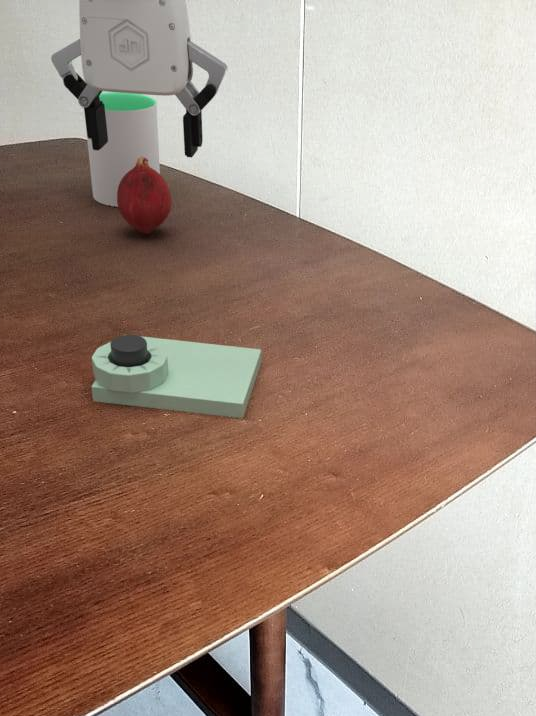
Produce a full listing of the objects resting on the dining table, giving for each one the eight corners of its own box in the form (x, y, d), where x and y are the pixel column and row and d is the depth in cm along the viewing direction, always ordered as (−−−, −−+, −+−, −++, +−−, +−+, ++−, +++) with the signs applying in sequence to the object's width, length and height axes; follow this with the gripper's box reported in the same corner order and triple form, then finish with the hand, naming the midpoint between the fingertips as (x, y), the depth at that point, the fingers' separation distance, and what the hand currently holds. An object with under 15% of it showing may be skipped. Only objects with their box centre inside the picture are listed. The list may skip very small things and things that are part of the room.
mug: (90, 174, 109) (81, 83, 102) (154, 173, 111) (149, 83, 104) (94, 208, 100) (84, 110, 93) (164, 206, 102) (159, 110, 95)
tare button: (107, 367, 67) (105, 349, 66) (117, 350, 69) (116, 332, 68) (142, 371, 67) (141, 353, 66) (151, 354, 69) (150, 336, 68)
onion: (174, 243, 93) (171, 167, 88) (119, 244, 93) (113, 166, 87) (171, 224, 98) (168, 149, 93) (119, 224, 97) (113, 149, 92)
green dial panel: (87, 403, 68) (82, 369, 66) (120, 348, 75) (117, 316, 73) (242, 421, 67) (242, 387, 65) (261, 363, 74) (262, 331, 72)
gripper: (22, -49, 76) (52, 154, 87) (215, -37, 75) (221, 167, 86) (52, -59, 82) (76, 133, 93) (231, -48, 81) (234, 145, 92)
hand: (146, 149), depth 90 cm, fingers open, 9 cm apart
